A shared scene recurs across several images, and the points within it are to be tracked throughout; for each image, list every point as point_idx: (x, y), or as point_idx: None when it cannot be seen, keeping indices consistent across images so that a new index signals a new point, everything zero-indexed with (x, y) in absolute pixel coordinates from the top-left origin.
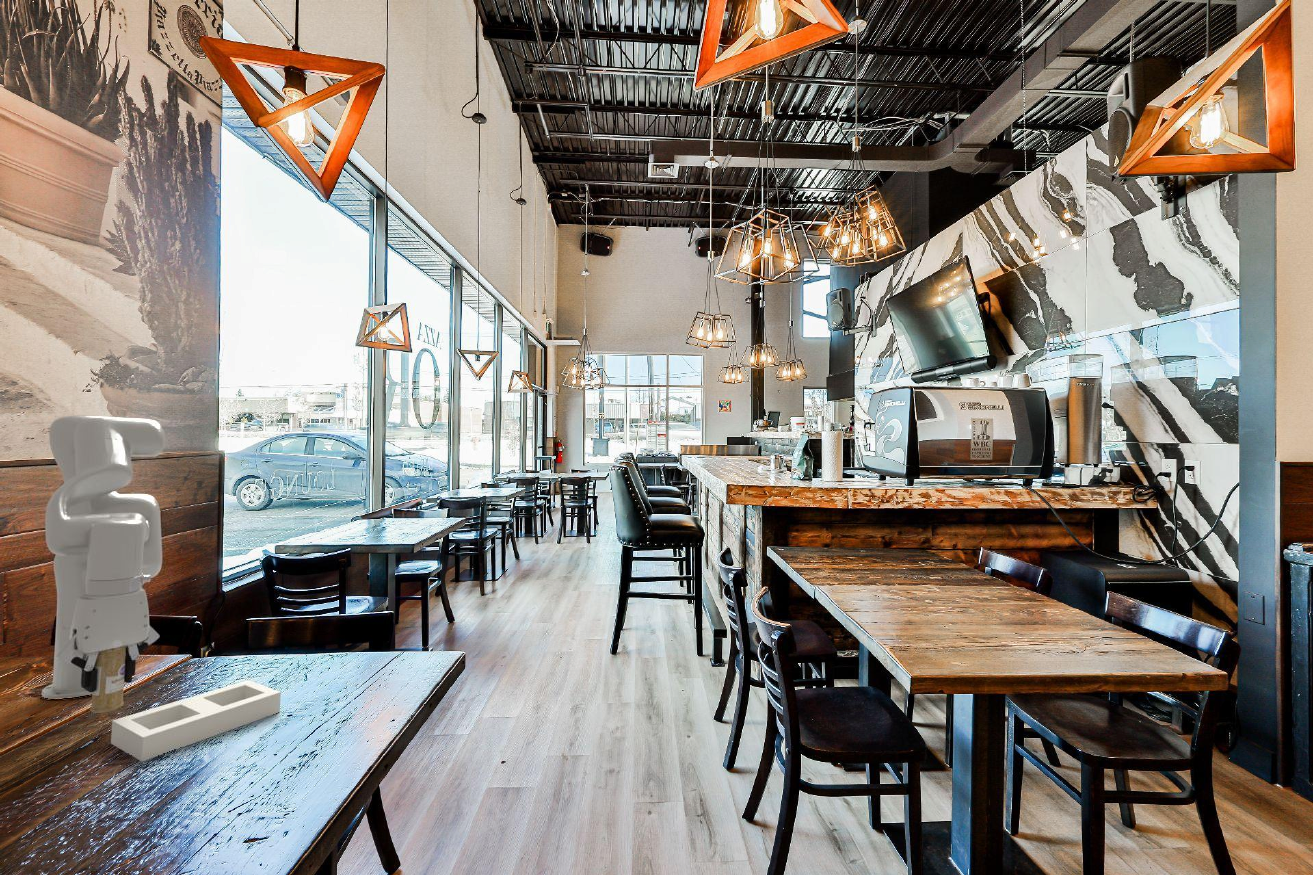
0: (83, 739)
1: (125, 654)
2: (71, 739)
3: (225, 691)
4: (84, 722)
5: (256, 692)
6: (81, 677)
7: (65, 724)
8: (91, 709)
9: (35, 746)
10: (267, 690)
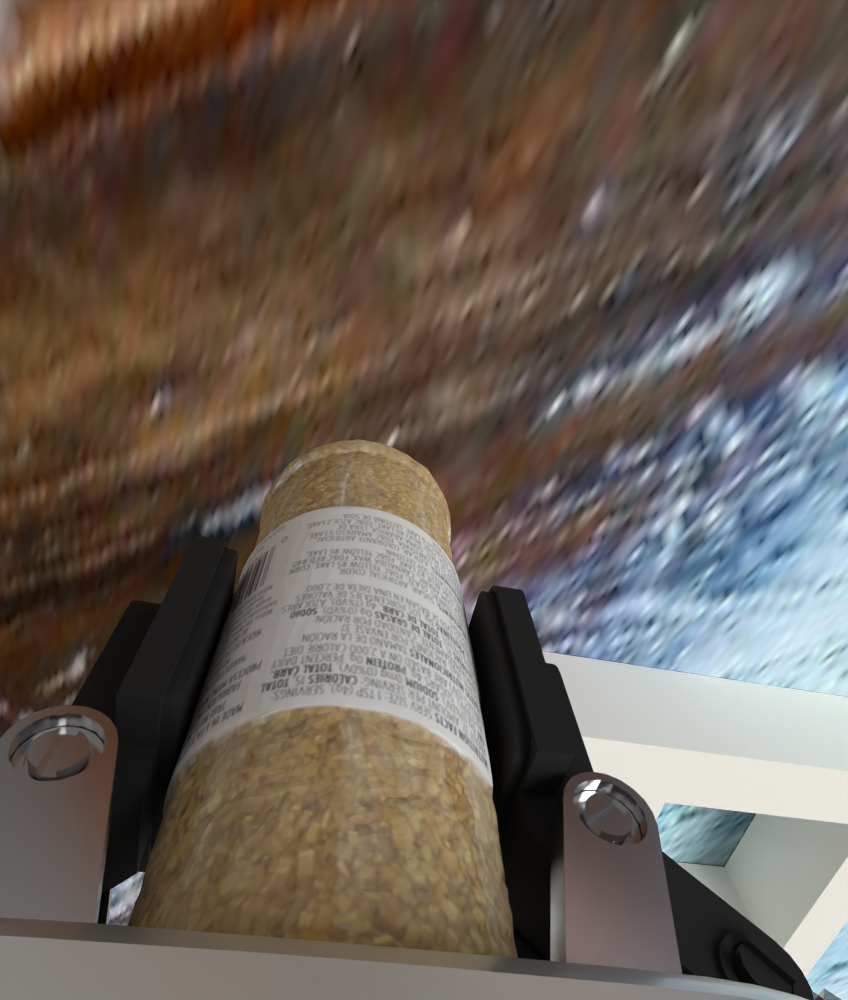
0: (259, 433)
1: (552, 837)
2: (229, 367)
3: (773, 813)
4: (412, 139)
5: (800, 895)
6: (102, 655)
7: (341, 27)
8: (261, 520)
9: (78, 266)
10: (800, 953)
